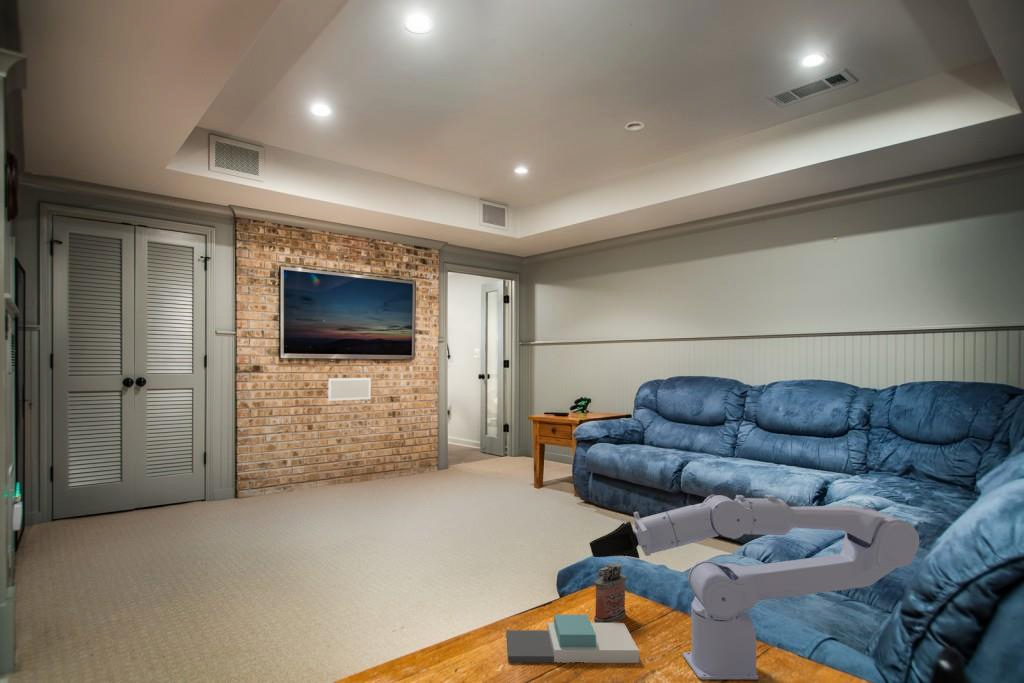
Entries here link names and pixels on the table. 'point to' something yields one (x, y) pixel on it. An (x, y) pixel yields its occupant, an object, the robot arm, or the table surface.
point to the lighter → (610, 595)
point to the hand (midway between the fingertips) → (591, 549)
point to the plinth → (598, 646)
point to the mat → (529, 646)
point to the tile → (574, 631)
